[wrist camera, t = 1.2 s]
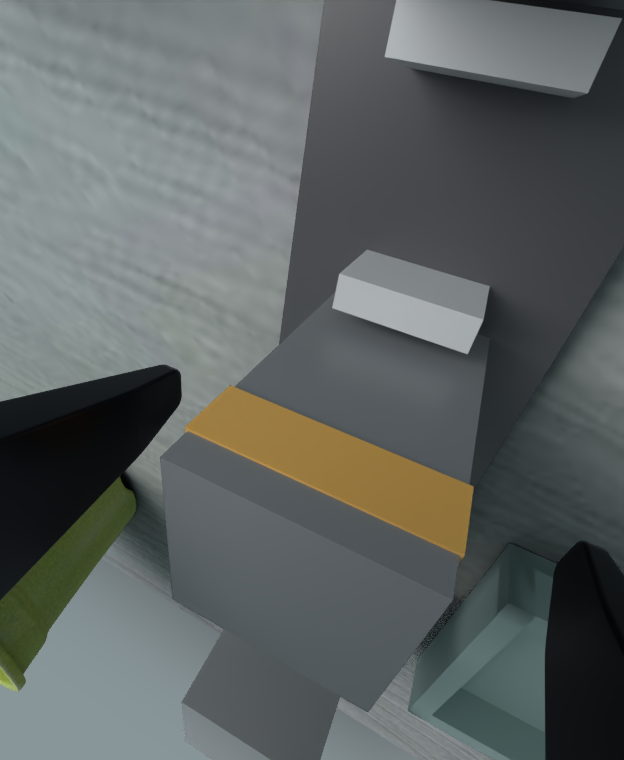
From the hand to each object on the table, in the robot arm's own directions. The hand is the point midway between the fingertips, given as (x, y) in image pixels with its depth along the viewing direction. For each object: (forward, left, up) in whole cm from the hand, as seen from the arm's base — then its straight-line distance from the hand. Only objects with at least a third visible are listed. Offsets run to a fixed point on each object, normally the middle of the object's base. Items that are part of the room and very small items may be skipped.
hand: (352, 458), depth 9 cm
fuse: (0, 0, -4) cm, 4 cm away
